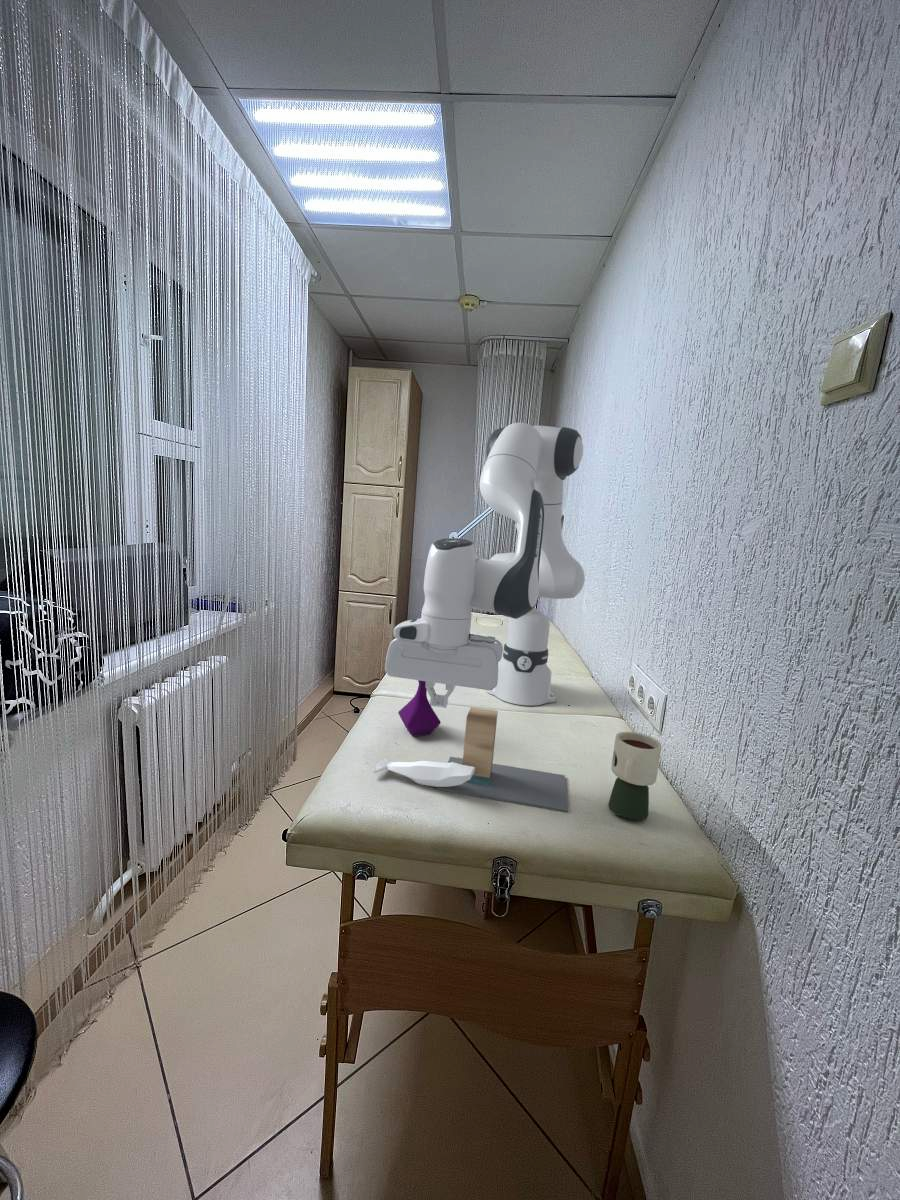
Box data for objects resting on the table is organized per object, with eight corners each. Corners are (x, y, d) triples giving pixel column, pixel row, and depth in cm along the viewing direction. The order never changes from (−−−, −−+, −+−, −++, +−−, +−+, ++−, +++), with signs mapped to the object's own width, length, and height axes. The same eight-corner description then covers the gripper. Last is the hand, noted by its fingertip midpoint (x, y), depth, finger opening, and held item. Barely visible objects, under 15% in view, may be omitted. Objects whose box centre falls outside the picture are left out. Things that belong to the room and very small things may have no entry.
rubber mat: (450, 758, 98) (450, 756, 98) (564, 777, 94) (564, 775, 94) (437, 789, 86) (437, 787, 86) (567, 812, 82) (567, 810, 82)
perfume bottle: (440, 737, 107) (446, 656, 104) (406, 740, 104) (412, 657, 101) (428, 723, 114) (434, 646, 111) (396, 725, 111) (402, 647, 108)
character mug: (614, 792, 90) (624, 724, 88) (656, 807, 86) (667, 736, 84) (596, 819, 81) (607, 744, 79) (642, 837, 77) (654, 758, 75)
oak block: (465, 767, 94) (470, 707, 92) (491, 772, 93) (497, 710, 91) (460, 780, 89) (466, 716, 87) (488, 785, 88) (495, 721, 86)
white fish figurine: (469, 797, 82) (468, 775, 82) (371, 782, 88) (370, 761, 87) (478, 782, 87) (477, 760, 87) (385, 768, 93) (384, 748, 93)
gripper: (505, 634, 89) (497, 708, 91) (395, 621, 93) (390, 692, 95) (502, 641, 83) (494, 720, 85) (385, 627, 87) (379, 703, 89)
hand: (438, 705), depth 90 cm, fingers closed
